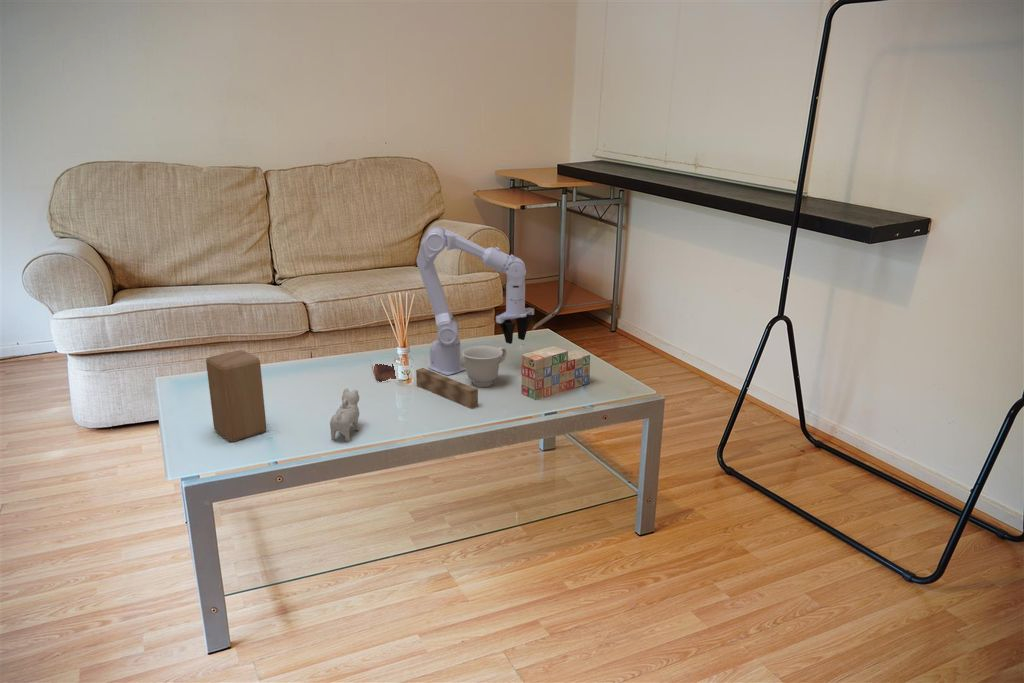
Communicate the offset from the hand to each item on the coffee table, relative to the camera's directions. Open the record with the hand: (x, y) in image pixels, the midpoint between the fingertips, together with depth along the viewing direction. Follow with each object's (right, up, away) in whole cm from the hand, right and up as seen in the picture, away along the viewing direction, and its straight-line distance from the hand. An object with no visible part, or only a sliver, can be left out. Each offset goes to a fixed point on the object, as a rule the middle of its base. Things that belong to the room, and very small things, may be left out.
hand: (515, 341), depth 239 cm
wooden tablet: (-40, -9, +5) cm, 41 cm away
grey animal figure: (-43, -23, -43) cm, 65 cm away
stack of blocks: (+12, -14, -12) cm, 22 cm away
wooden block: (-70, -23, -43) cm, 85 cm away
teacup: (-9, -13, -8) cm, 17 cm away
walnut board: (-20, -16, -18) cm, 31 cm away
